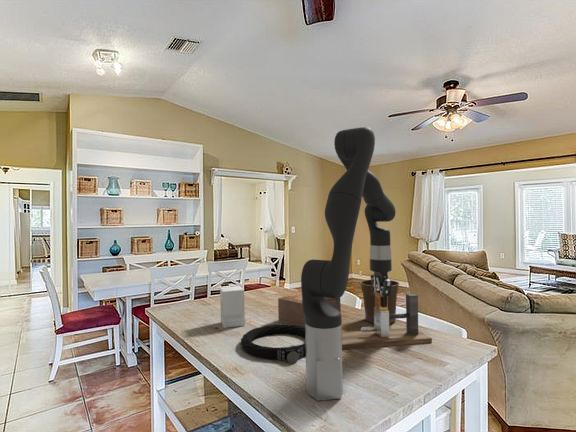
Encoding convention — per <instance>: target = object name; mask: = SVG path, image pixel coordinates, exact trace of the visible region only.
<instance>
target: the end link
mask: <svg viewBox="0 0 576 432" xmlns="http://www.w3.org/2000/svg"><path fill="white" fill-rule="evenodd" d="M389 329H390V324H389V311H388V298H387V307H383V308H382V307H381V296H380V292H375V307H374V323H373V326H362V327H360V331H362V332H370V331H374V332H375V333H376V334H377V335H379V336H380V337H381V338H384V337H389Z"/></svg>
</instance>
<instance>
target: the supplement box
mask: <svg viewBox="0 0 576 432" xmlns="http://www.w3.org/2000/svg"><path fill="white" fill-rule="evenodd" d="M219 295H220V297H219V298H220V323H221V325H222V328H223V329H228V328H236V327H244V326H246V318H245V317H246V315H245V314H246V312H245V289H243V287H242V286H240V285H238V286H237V285H236V286H227V287H225V286H224V287H223V286H222V287H220V291H219Z"/></svg>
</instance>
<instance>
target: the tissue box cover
mask: <svg viewBox="0 0 576 432" xmlns="http://www.w3.org/2000/svg"><path fill="white" fill-rule="evenodd" d="M324 298H325V300H326V301H327V302H328V303H329V304H330V305H331V306H332V307H334V308H335V309H337V310H338V311H339V312H340V313H341V314H342V312H341V311H342V310H341V297H340V298H327V297H324ZM277 302H278V303H277V304H278V307H277V308H278V310H277V311H278V314H277V315H278V322H280V323H284V324H285V323H286V324H287V325H296V326H303V327H305V316H304V313H303V304H302V291H301V292H297V293H294V294H293V293H292V294H289V295H286V296H282V297H278V300H277Z"/></svg>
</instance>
